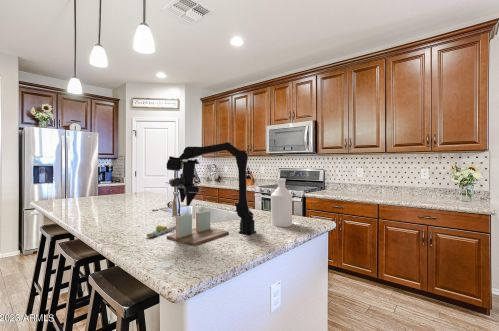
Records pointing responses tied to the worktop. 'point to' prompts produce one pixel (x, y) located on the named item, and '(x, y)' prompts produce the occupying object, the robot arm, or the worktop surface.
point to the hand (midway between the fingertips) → (184, 203)
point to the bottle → (281, 206)
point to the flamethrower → (160, 231)
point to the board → (199, 236)
